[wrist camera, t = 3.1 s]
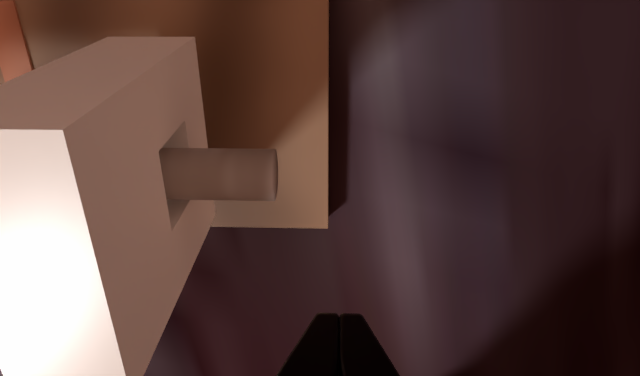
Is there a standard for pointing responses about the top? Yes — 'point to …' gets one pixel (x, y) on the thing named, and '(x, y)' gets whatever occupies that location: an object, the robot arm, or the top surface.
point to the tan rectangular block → (96, 206)
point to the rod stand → (216, 94)
